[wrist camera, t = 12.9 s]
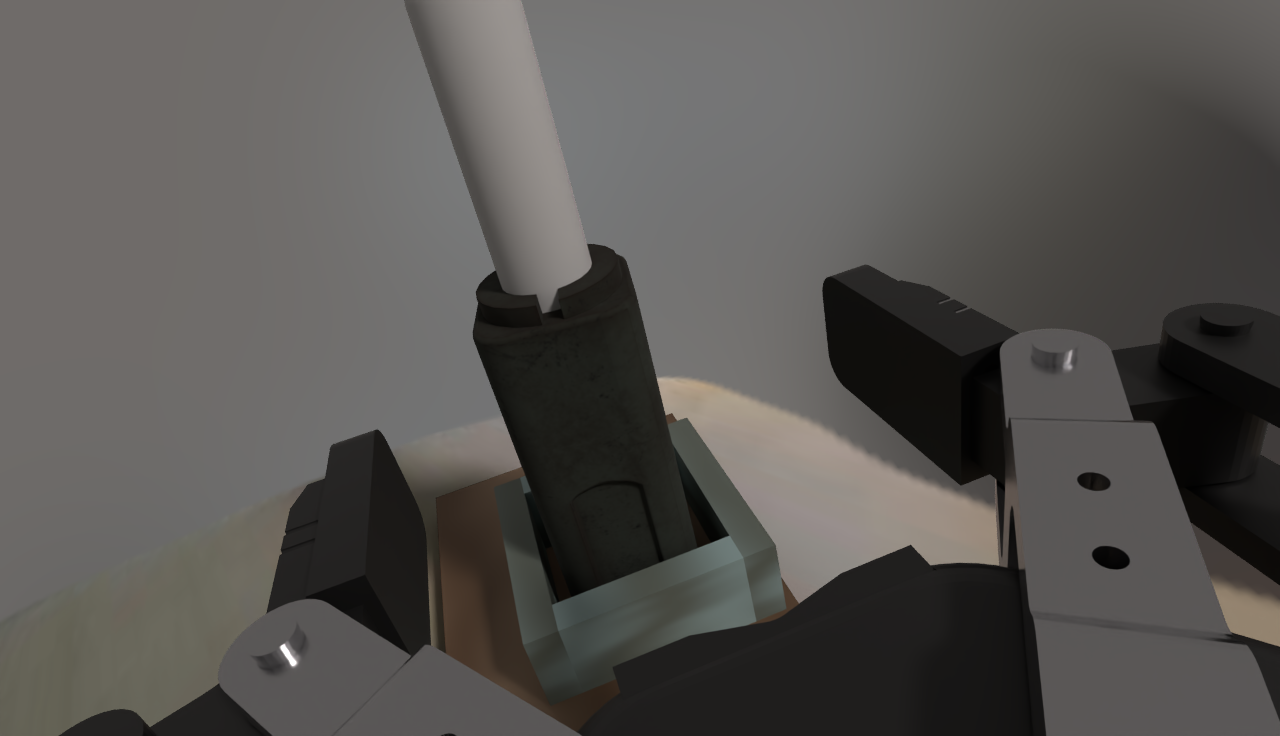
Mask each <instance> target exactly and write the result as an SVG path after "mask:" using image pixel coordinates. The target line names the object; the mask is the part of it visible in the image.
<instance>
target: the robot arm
mask: <svg viewBox="0 0 1280 736" xmlns="http://www.w3.org/2000/svg"><path fill="white" fill-rule="evenodd" d="M822 291H823V303H824V312H825V322H826V332H827V341H828V351H829V358H830V362H831V365H832V368H833V370H834V372H835V374H836V376H837V378H838V380H839V381H840V382H841V383H842V385H843V386H844V387H845V388H846V389H848V390H849V391H850V392H851V393H852V394H854V395H855V396H856V397H857V398H858V399H860V400H861V401H862V402H863V403H864V404H865V405H867V406H868V407H869V408H870V409H871V410H872V411H874V412H875V413H876V414H877V415H879V416H880V417H881V418H882V419H883V420H884V421H885V422H887V423H888V424H889V425H890V426H891V427H892V428H894V429H895V430H896V431H897V432H898V433H899V434H901V435H902V436H903V437H904V438H905V439H906V440H908V441H909V442H910V443H911V444H912V445H914V446H915V447H916V448H917V449H918V450H919V451H921V452H922V453H923V454H924V455H925V456H926V457H928V458H929V459H930V460H931V461H933V462H934V463H935V464H936V465H937V466H938V467H939V468H941V469H942V470H943V471H944V472H945V473H947V474H948V475H949V476H950V477H951V478H952V479H954V480H955V481H956V482H957V483H958V484H960V485H964V484H966V483H969V482H971V481H974V480H976V479H979V478H981V477H984V476H986V475H989V474H990V475H992V476H993V477H994V478H995V479H996V483H995V506H996V522H997V539H998V556H999V566H997V565H988V564H979V563H950V564H938V565H931V566H930V565H929V564H928V562H927V561H926V560H925V559H924V558H923V557H922V556H921V555H920V554H919V553H918V552H917V551H916V550H915V549H914V548H913V547H912V546H911V545H909V546H907V547H905V548H902V549H900V550H897V551H895V552H892V553H890V554H887V555H885V556H883V557H880V558H878V559H875V560H873V561H870V562H868V563H865V564H863V565H861V566H858V567H856V568H853V569H851V570H848V571H846V572H843V573H841V574H840V575H838V576H837V577H836V578H834V579H833V580H831V581H830V582H829V583H827V584H826V585H824V586H823V587H822V588H820V589H819V590H818V591H816V592H815V593H813V594H812V595H811V596H809V597H808V598H806V599H805V600H804V601H802V602H801V603H800V604H798V605H797V606H795V607H794V608H793V609H791V610H790V611H788V612H787V613H786V614H784V615H783V616H781V617H780V618H778V619H775V620H772V621H768V622H763V623H758V624H752V625H746V626H740V627H735V628H729V629H723V630H718V631H712V632H706V633H701V634H695V635H689V636H687V637H684V638H682V639H680V640H677V641H675V642H672V643H670V644H667V645H665V646H662V647H660V648H657V649H655V650H653V651H650V652H648V653H645V654H643V655H640V656H638V657H635V658H633V659H631V660H628V661H626V662H623V663H621V664H618V665H616V666H613V667H612V668H613V671H614V674H615V677H616V680H617V683H618V687H619V690H620V693H619V694H617V695H616V696H615V697H613V698H612V699H611V700H609V701H608V702H607V703H605V704H604V705H603V706H602V707H601V708H600V709H599V710H598V711H597V712H595V713H594V714H593V715H592V716H591V717H590V718H589V719H588V720H587V721H586V722H585V724H584V725H583V726H582V727H581V728H580V729H579V730H578V731H577V732H575V731H574V730H572V729H570V728H569V727H567V726H565V725H564V724H562V723H560V722H559V721H557V720H555V719H554V718H552V717H550V716H549V715H547V714H545V713H544V712H542V711H540V710H539V709H537V708H535V707H534V706H532V705H530V704H529V703H527V702H525V701H524V700H522V699H520V698H519V697H517V696H515V695H514V694H512V693H510V692H509V691H507V690H505V689H504V688H502V687H500V686H499V685H497V684H495V683H494V682H492V681H490V680H489V679H487V678H485V677H484V676H482V675H480V674H479V673H477V672H475V671H474V670H472V669H470V668H469V667H467V666H465V665H464V664H462V663H460V662H459V661H457V660H456V659H454V658H452V657H451V656H449V655H447V654H446V653H444V652H442V651H441V650H439V649H437V648H435V647H433V646H431V637H430V614H429V591H428V568H427V545H426V533H425V527H424V523H423V520H422V516H421V513H420V510H419V508H418V505H417V503H416V501H415V498H414V496H413V494H412V492H411V490H410V488H409V486H408V484H407V482H406V480H405V478H404V476H403V474H402V472H401V470H400V468H399V466H398V464H397V461H396V459H395V457H394V455H393V453H392V451H391V449H390V447H389V445H388V443H387V441H386V439H385V437H384V436H383V434H382V433H381V432H380V431H379V430H374V431H371V432H368V433H365V434H362V435H359V436H356V437H353V438H351V439H347V440H345V441H342V442H339V443H336V444H333V445H332V446H331V448H330V453H329V458H328V465H327V470H326V476H325V479H323V480H320V481H317V482H314V483H311V484H308V485H307V487H306V488H305V489H304V491H303V492H302V493H301V495H300V496H299V497H298V499H297V500H296V502H295V503H294V504H293V506H292V507H291V508H290V512H289V516H288V521H287V525H286V529H285V532H286V535H285V536H284V538H283V543H282V547H281V552H282V554H281V555H280V556H279V560H278V565H277V569H276V573H275V578H274V582H273V587H272V591H271V595H270V600H269V604H268V609H267V613H266V614H265V615H264V616H262V617H261V618H259V619H258V620H257V621H255V622H254V623H252V624H251V625H250V626H249V627H248V628H247V629H245V630H244V631H243V632H242V633H241V634H240V635H239V636H238V637H237V639H236V640H235V641H234V642H233V643H232V645H231V646H230V647H229V649H228V650H227V652H226V654H225V655H224V657H223V659H222V662H221V664H220V668H219V672H218V681H219V684H218V685H216V686H215V687H214V688H212V689H211V690H209V691H208V692H206V693H205V694H203V695H202V696H200V697H198V698H197V699H195V700H193V701H192V702H190V703H189V704H187V705H185V706H184V707H182V708H180V709H179V710H177V711H176V712H174V713H172V714H171V715H169V716H168V717H166V718H164V719H163V720H161V721H159V722H158V723H156V724H155V725H153V726H151V727H149V726H148V725H147V724H146V723H145V722H144V721H143V719H142V718H141V717H140V716H139V715H138V714H137V713H135V712H133V711H131V710H125V709H119V710H111V711H107V712H103V713H100V714H97V715H95V716H92V717H90V718H88V719H86V720H84V721H82V722H80V723H78V724H76V725H75V726H73V727H71V728H70V729H68V730H67V731H65V732H64V733H62V734H61V735H59V736H1280V647H1279V646H1275V645H1272V644H1269V643H1265V642H1262V641H1258V640H1255V639H1252V638H1248V637H1245V636H1242V635H1238V634H1235V633H1232V632H1230V630H1229V628H1228V626H1227V624H1226V621H1225V618H1224V615H1223V613H1222V610H1221V607H1220V604H1219V601H1218V599H1217V596H1216V593H1215V590H1214V587H1213V585H1212V582H1211V579H1210V576H1209V573H1208V571H1207V568H1206V565H1205V562H1204V559H1203V557H1202V554H1201V551H1200V548H1199V545H1198V543H1197V540H1196V537H1195V534H1194V532H1193V529H1192V526H1191V523H1193V524H1194V525H1195V526H1197V527H1198V528H1200V529H1201V530H1203V531H1204V532H1205V533H1207V534H1208V535H1210V536H1211V537H1212V538H1214V539H1215V540H1217V541H1218V542H1219V543H1221V544H1222V545H1224V546H1225V547H1226V548H1228V549H1229V550H1231V551H1232V552H1233V553H1235V554H1236V555H1238V556H1239V557H1241V558H1242V559H1243V560H1245V561H1246V562H1248V563H1249V564H1250V565H1252V566H1253V567H1255V568H1256V569H1258V570H1259V571H1260V572H1262V573H1263V574H1264V575H1266V576H1267V577H1269V578H1270V579H1272V580H1273V581H1274V582H1276V583H1277V584H1279V585H1280V465H1278V464H1276V463H1274V462H1273V461H1271V460H1269V459H1267V458H1266V457H1264V456H1262V455H1260V454H1261V450H1262V447H1263V442H1264V439H1265V435H1266V431H1267V428H1268V424H1269V423H1271V424H1273V425H1275V426H1277V427H1279V428H1280V316H1277V315H1275V314H1272V313H1270V312H1267V311H1264V310H1261V309H1257V308H1253V307H1248V306H1243V305H1236V304H1223V303H1209V304H1208V303H1207V304H1197V305H1191V306H1186V307H1183V308H1179V309H1177V310H1174V311H1173V312H1171V313H1169V314H1168V315H1167V316H1166V317H1165V319H1164V321H1163V326H1162V332H1161V339H1160V343H1159V344H1153V345H1146V346H1139V347H1134V348H1126V349H1120V350H1113V351H1111V350H1110V348H1109V347H1108V346H1107V345H1106V344H1105V343H1104V342H1103V341H1101V340H1099V339H1098V338H1096V337H1094V336H1091V335H1088V334H1086V333H1082V332H1078V331H1073V330H1066V329H1039V330H1032V331H1027V332H1023V333H1018V332H1016V331H1014V330H1012V329H1010V328H1008V327H1006V326H1004V325H1002V324H1000V323H999V322H997V321H995V320H993V319H991V318H989V317H987V316H985V315H983V314H981V313H979V312H977V311H975V310H973V309H972V308H971V309H968V308H967V306H966V305H964V304H962V303H960V302H958V301H956V300H951V299H950V297H949V296H947V295H945V294H942V293H941V292H939V291H937V290H935V289H933V288H931V287H930V286H925V285H920V284H915V283H911V282H906V281H897V280H895V279H893V278H891V277H889V276H888V275H886V274H884V273H882V272H880V271H878V270H877V269H875V268H873V267H871V266H869V265H863V266H860V267H857V268H854V269H851V270H848V271H845V272H842V273H839V274H837V275H833V276H830V277H827V278H826V279H825V281H824V283H823V290H822ZM1190 522H1191V523H1190Z"/></svg>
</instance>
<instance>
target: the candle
mask: <svg viewBox="0 0 1280 736" xmlns="http://www.w3.org/2000/svg"><path fill="white" fill-rule="evenodd" d="M405 6H406V10H407V12H408V16H409V18H410V21H411V24H412V27H413V30H414V33H415V36H416V39H417V42H418V45H419V48H420V50H421V53H422V56H423V59H424V62H425V65H426V67H427V71H428V74H429V77H430V79H431V83H432V85H433V88H434V91H435V94H436V97H437V100H438V103H439V106H440V108H441V112H442V115H443V117H444V120H445V123H446V126H447V129H448V132H449V135H450V138H451V140H452V144H453V147H454V150H455V152H456V155H457V158H458V161H459V164H460V167H461V170H462V173H463V176H464V179H465V182H466V185H467V187H468V190H469V193H470V196H471V199H472V202H473V205H474V208H475V211H476V214H477V217H478V219H479V222H480V225H481V228H482V231H483V234H484V237H485V240H486V243H487V246H488V249H489V252H490V254H491V257H492V260H493V263H494V266H495V269H496V271H494V272H493V273H491V274H490V275H488V276H487V277H486V278H485V279H484V280H483V281H482V282H481V283H480V284H479V286H478V289H477V291H476V296H477V300H478V307H477V312H476V318H475V323H474V328H473V339H474V342H475V345H476V347H477V350H478V353H479V355H480V358H481V360H482V363H483V366H484V368H485V371H486V374H487V376H488V379H489V382H490V384H491V387H492V389H493V392H494V395H495V397H496V400H497V402H498V405H499V408H500V411H501V413H502V416H503V418H504V421H505V424H506V426H507V429H508V432H509V434H510V437H511V439H512V442H513V445H514V447H515V450H516V453H517V455H518V458H519V461H520V463H521V466H522V468H523V471H524V474H525V476H526V479H527V482H528V484H529V487H530V489H531V492H532V495H533V497H534V500H535V503H536V505H537V508H538V510H539V513H540V516H541V518H542V521H543V524H544V526H545V529H546V532H547V534H548V537H549V539H550V542H551V545H552V547H553V550H554V553H555V555H556V558H557V560H558V563H559V566H560V568H561V571H562V574H563V576H564V579H565V582H566V584H567V587H568V589H569V592H570V595H571V597H574V596H576V595H579V594H581V593H584V592H586V591H589V590H592V589H594V588H597V587H599V586H602V585H604V584H607V583H610V582H612V581H615V580H617V579H620V578H622V577H625V576H628V575H630V574H633V573H635V572H638V571H640V570H643V569H645V568H648V567H651V566H653V565H656V564H658V563H661V562H663V561H666V560H669V559H671V558H674V557H676V556H679V555H681V554H684V553H686V552H689V551H692V550H694V549H697V544H696V539H695V535H694V531H693V527H692V523H691V519H690V515H689V510H688V506H687V502H686V498H685V494H684V490H683V486H682V482H681V477H680V473H679V469H678V465H677V461H676V457H675V453H674V448H673V444H672V440H671V436H670V432H669V428H668V424H667V420H666V415H665V411H664V407H663V403H662V399H661V395H660V391H659V386H658V382H657V378H656V374H655V370H654V366H653V362H652V358H651V353H650V350H649V345H648V342H647V337H646V333H645V329H644V325H643V321H642V316H641V312H640V308H639V304H638V300H637V296H636V292H635V289H634V285H633V282H632V278H631V275H630V272H629V268H628V265H627V262H626V260H625V259H624V258H623V257H622V256H620V255H617V254H616V253H615V252H614V250H612V249H610V248H608V247H606V246H601V245H595V244H587V242H586V239H585V235H584V232H583V228H582V224H581V220H580V217H579V213H578V209H577V205H576V202H575V198H574V195H573V191H572V187H571V183H570V179H569V176H568V172H567V168H566V165H565V161H564V157H563V154H562V150H561V146H560V142H559V139H558V135H557V131H556V127H555V124H554V120H553V116H552V113H551V109H550V105H549V102H548V98H547V94H546V90H545V87H544V83H543V79H542V75H541V72H540V68H539V65H538V61H537V57H536V53H535V50H534V46H533V42H532V39H531V35H530V31H529V27H528V24H527V20H526V16H525V12H524V9H523V5H522V1H521V0H405Z"/></svg>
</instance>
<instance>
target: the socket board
mask: <svg viewBox="0 0 1280 736" xmlns="http://www.w3.org/2000/svg"><path fill="white" fill-rule="evenodd" d="M666 420H667V424H668V428H669V432H670V436H671V440H672V444H673V448H674V453H675V457H676V461H677V465H678V469H679V473H680V477H681V482H682V486H683V490H684V494H685V498H686V502H687V506H688V510H689V515H690V519H691V523H692V527H693V531H694V535H695V539H696V544H697V549H694V550H692V551H689V552H686V553H684V554H681V555H679V556H676V557H674V558H671V559H669V560H666V561H663V562H661V563H658V564H656V565H653V566H651V567H648V568H645V569H643V570H640V571H638V572H635V573H633V574H630V575H628V576H625V577H622V578H620V579H617V580H615V581H612V582H610V583H607V584H604V585H602V586H599V587H597V588H594V589H592V590H589V591H586V592H584V593H581V594H579V595H576V596H574V597H571V595H570V592H569V589H568V587H567V584H566V582H565V579H564V576H563V574H562V571H561V568H560V566H559V563H558V560H557V558H556V555H555V553H554V550H553V547H552V545H551V542H550V539H549V537H548V534H547V532H546V529H545V526H544V524H543V521H542V518H541V516H540V513H539V510H538V508H537V505H536V503H535V500H534V497H533V495H532V492H531V489H530V487H529V484H528V482H527V479H526V476H525V474H524V471H523V468H522V467H521V468H518V469H515V470H512V471H510V472H507V473H504V474H501V475H498V476H496V477H493V478H490V479H487V480H485V481H482V482H479V483H476V484H473V485H471V486H468V487H465V488H462V489H459V490H457V491H454V492H451V493H448V494H445V495H443V496H440V497H437V498H436V507H437V523H438V538H439V554H440V570H441V585H442V601H443V616H444V632H445V647H446V654H447V655H449V656H451V657H452V658H454V659H456V660H457V661H459V662H460V663H462V664H464V665H465V666H467V667H469V668H470V669H472V670H474V671H475V672H477V673H479V674H480V675H482V676H484V677H485V678H487V679H489V680H490V681H492V682H494V683H495V684H497V685H499V686H500V687H502V688H504V689H505V690H507V691H509V692H510V693H512V694H514V695H515V696H517V697H519V698H520V699H522V700H524V701H525V702H527V703H529V704H530V705H532V706H534V707H535V708H537V709H539V710H540V711H542V712H544V713H545V714H547V715H549V716H550V717H552V718H554V719H555V720H557V721H559V722H560V723H562V724H564V725H565V726H567V727H569V728H570V729H572V730H574V731H575V732H577V731H578V730H579V729H580V728H581V727H582V726H583V725H584V724H585V722H586V721H587V720H588V719H589V718H590V717H591V716H592V715H593V714H594V713H595V712H597V711H598V710H599V709H600V708H601V707H602V706H603V705H604V704H605V703H607V702H608V701H609V700H611V699H612V698H613V697H615V696H616V695H617V694H619V693H620V690H619V687H618V683H617V680H616V677H615V674H614V671H613V668H612V667H613V666H616V665H618V664H621V663H623V662H626V661H628V660H631V659H633V658H635V657H638V656H640V655H643V654H645V653H648V652H650V651H653V650H655V649H657V648H660V647H662V646H665V645H667V644H670V643H672V642H675V641H677V640H680V639H682V638H684V637H687V636H689V635H695V634H701V633H706V632H712V631H718V630H723V629H729V628H735V627H740V626H746V625H752V624H758V623H763V622H768V621H772V620H775V619H778V618H780V617H781V616H783V615H784V614H786V613H787V612H788V611H790V610H791V609H793V608H794V607H795V606H797V605H798V604H799V603H798V602H797V600H796V599H795V597H794V596H793V594H792V593H791V591H790V590H789V588H788V587H787V585H786V584H785V582H784V581H783V579H782V578H781V574H780V568H779V562H778V557H777V551H776V545H775V544H774V542H773V541H772V539H771V538H770V536H769V535H768V534H767V532H766V531H765V529H764V528H763V526H762V525H761V523H760V522H759V521H758V519H757V518H756V516H755V515H754V513H753V512H752V511H751V509H750V508H749V506H748V505H747V503H746V502H745V501H744V499H743V498H742V496H741V495H740V493H739V492H738V490H737V489H736V488H735V486H734V485H733V483H732V482H731V480H730V479H729V478H728V476H727V475H726V473H725V472H724V470H723V469H722V467H721V466H720V465H719V463H718V462H717V460H716V459H715V457H714V456H713V455H712V453H711V452H710V450H709V449H708V447H707V446H706V444H705V443H704V442H703V440H702V439H701V437H700V436H699V434H698V433H697V432H696V430H695V429H694V427H693V426H692V424H691V423H690V421H689V420H688V419H687V418H684V419H682V420H679V421H677V420H676V419H675V417H674V416H673V414H672V413H671V414H669V415H666Z"/></svg>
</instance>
